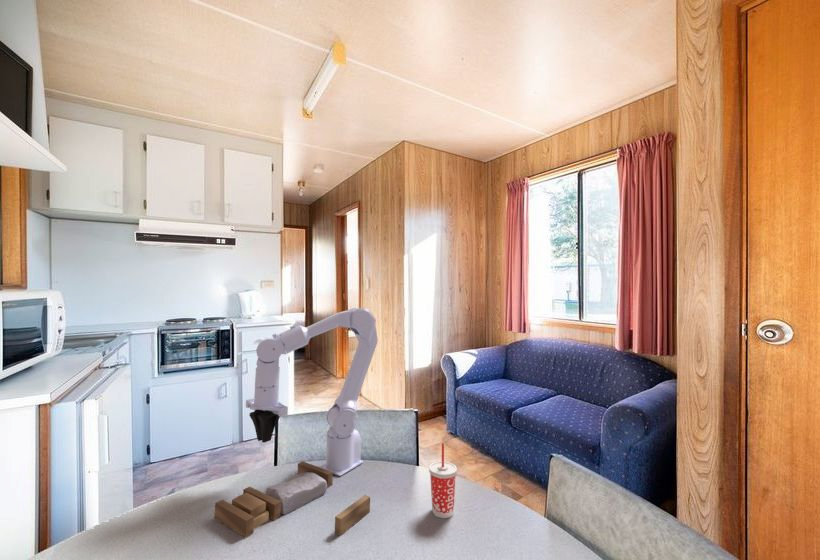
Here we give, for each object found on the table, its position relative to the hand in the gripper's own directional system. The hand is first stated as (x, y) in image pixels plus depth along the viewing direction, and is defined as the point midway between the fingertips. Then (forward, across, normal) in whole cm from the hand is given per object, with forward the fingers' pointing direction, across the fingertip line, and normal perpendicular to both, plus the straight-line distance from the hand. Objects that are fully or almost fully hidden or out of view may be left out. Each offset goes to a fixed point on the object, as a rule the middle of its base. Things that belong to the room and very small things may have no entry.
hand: (264, 440), depth 83 cm
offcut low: (+10, +11, -11) cm, 18 cm away
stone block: (+10, +12, 0) cm, 16 cm away
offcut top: (+8, +11, -11) cm, 17 cm away
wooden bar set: (+10, +18, -3) cm, 21 cm away
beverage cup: (+10, +44, +13) cm, 47 cm away
